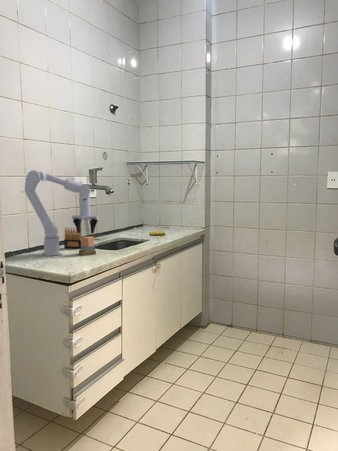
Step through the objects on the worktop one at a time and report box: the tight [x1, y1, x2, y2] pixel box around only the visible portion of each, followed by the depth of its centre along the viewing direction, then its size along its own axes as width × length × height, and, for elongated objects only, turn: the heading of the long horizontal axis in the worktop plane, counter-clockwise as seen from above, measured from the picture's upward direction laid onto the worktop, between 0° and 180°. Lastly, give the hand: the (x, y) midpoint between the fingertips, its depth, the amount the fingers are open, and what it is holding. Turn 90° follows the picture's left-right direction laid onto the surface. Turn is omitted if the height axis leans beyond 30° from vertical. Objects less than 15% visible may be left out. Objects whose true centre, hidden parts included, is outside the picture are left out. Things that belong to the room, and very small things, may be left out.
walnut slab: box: [78, 249, 97, 257], centre depth 197 cm, size 7×7×2 cm
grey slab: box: [80, 244, 96, 252], centre depth 197 cm, size 6×6×2 cm
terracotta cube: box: [81, 235, 95, 247], centre depth 196 cm, size 4×4×4 cm
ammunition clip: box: [63, 227, 83, 250], centre depth 212 cm, size 11×2×12 cm, turn 74°
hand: (85, 232), depth 200 cm, fingers open, 7 cm apart
